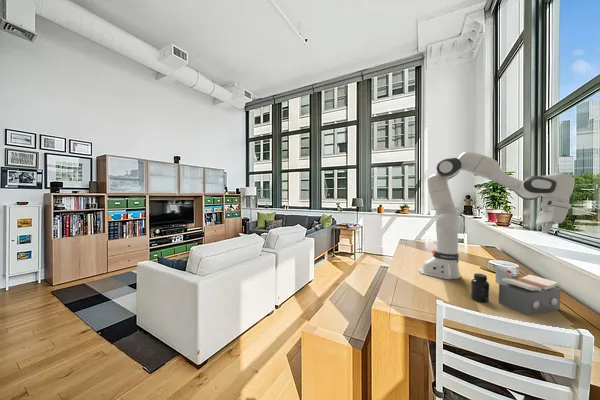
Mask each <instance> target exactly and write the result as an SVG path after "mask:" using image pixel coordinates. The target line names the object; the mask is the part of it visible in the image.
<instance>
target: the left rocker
mask: <svg viewBox="0 0 600 400" xmlns="http://www.w3.org/2000/svg"><path fill="white" fill-rule="evenodd" d="M502 281H505V282H508V283H509V284H512V285H515V286H518V287H521V288H524V289H527V290H530V291H534V290H539V291H541V288H542V287H539V286H536V285H533V284H529V283H526V282H523V281H520V280H517V279H507V278H502Z"/></svg>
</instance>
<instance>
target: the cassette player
mask: <svg viewBox="0 0 600 400" xmlns="http://www.w3.org/2000/svg"><path fill="white" fill-rule="evenodd" d="M502 278H507V279H517V280H518V278H519V275H517V274H515V273H513V272H512V270H510V269H508V268H507V267H504V266H503V265H498V266H495V283H496V284H498V285H499V284H502V283H508V282H505V281H502Z"/></svg>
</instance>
